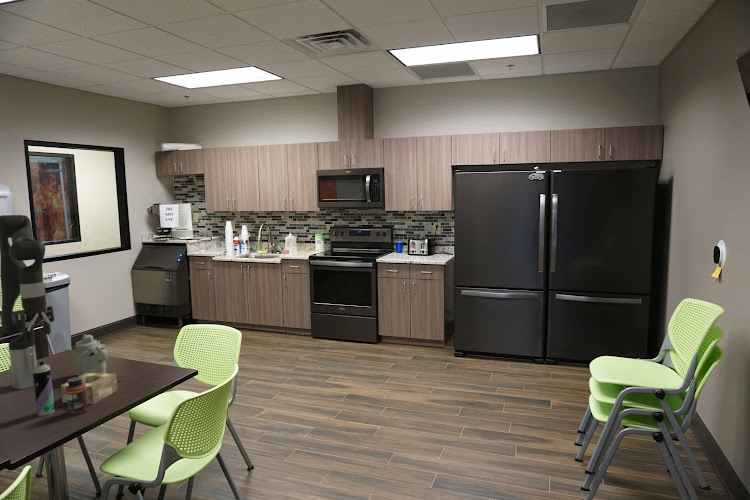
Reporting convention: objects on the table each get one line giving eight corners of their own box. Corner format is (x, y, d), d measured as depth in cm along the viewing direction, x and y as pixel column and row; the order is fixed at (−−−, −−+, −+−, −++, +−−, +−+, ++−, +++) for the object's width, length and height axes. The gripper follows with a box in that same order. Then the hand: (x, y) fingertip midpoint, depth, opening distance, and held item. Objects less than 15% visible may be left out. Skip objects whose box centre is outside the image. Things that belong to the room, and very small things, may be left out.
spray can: (36, 416, 189) (30, 364, 186) (38, 411, 193) (32, 360, 191) (54, 413, 191) (48, 362, 189) (55, 408, 196) (49, 358, 194)
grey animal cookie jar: (106, 380, 224) (102, 339, 222) (69, 384, 221) (64, 342, 219) (116, 368, 240) (113, 329, 238) (81, 371, 237) (77, 332, 234)
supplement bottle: (84, 406, 197) (81, 374, 195) (91, 410, 193) (88, 378, 191) (65, 412, 192) (61, 379, 190) (72, 417, 187) (68, 383, 186)
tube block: (62, 402, 201) (60, 385, 200) (87, 388, 215) (86, 372, 214) (93, 403, 199) (92, 386, 198) (117, 390, 213) (116, 373, 212)
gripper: (40, 291, 195) (44, 332, 197) (7, 298, 181) (12, 343, 183) (57, 291, 193) (61, 332, 195) (25, 298, 180) (30, 343, 181)
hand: (37, 337), depth 189 cm, fingers open, 8 cm apart
